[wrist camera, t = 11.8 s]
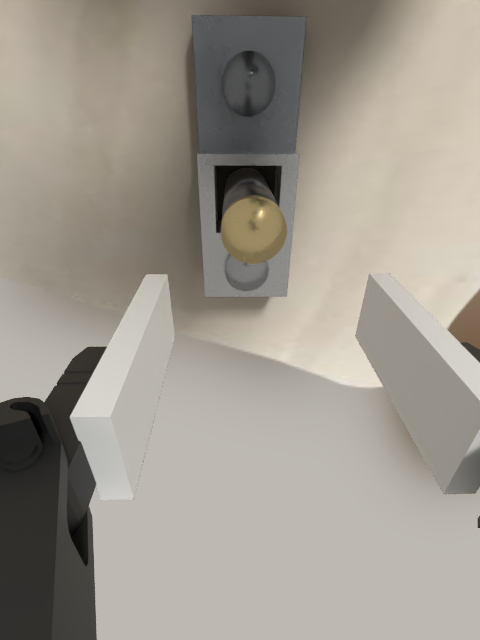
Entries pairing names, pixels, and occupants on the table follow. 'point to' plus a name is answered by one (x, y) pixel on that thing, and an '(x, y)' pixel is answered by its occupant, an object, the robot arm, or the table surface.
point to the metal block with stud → (246, 133)
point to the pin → (251, 218)
